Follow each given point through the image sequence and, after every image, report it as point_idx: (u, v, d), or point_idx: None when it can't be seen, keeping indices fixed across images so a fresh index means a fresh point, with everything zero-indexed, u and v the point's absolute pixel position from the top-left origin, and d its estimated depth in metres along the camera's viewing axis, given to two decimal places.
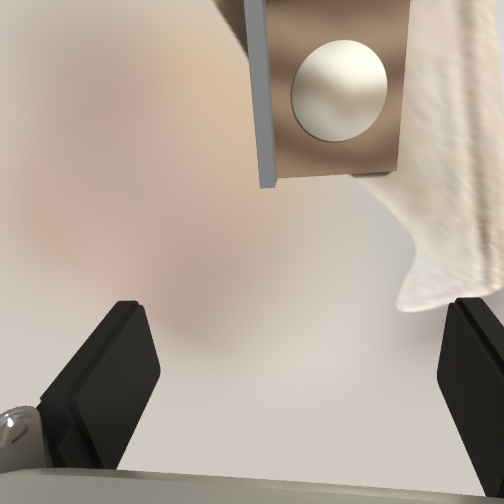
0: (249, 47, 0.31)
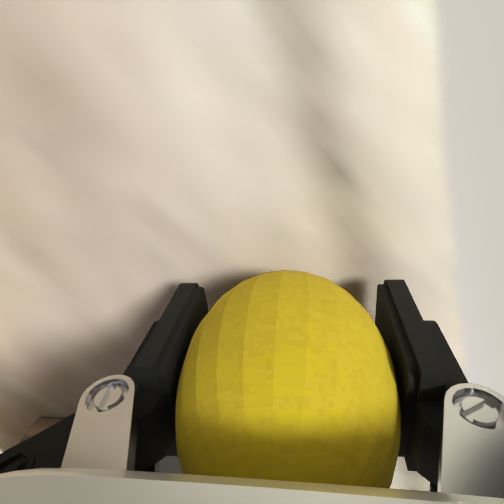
0: None
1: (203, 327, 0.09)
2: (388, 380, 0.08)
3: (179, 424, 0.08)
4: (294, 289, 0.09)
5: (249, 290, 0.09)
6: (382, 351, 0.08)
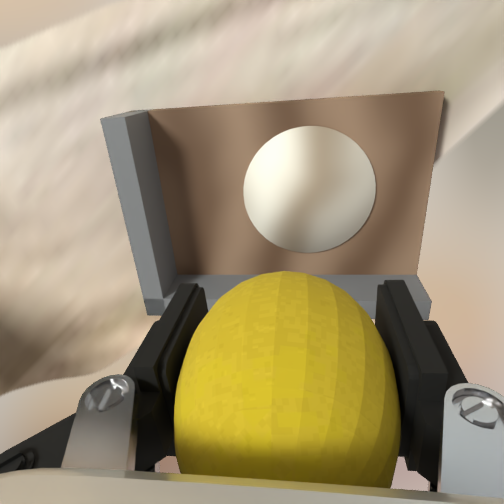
0: None
1: (202, 328, 0.09)
2: (388, 382, 0.08)
3: (178, 426, 0.08)
4: (293, 290, 0.09)
5: (249, 292, 0.09)
6: (382, 352, 0.08)
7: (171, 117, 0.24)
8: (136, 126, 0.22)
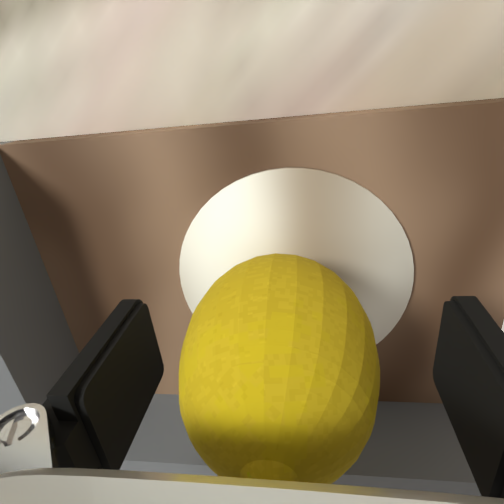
0: None
1: (203, 303, 0.10)
2: (367, 345, 0.09)
3: (182, 385, 0.09)
4: (284, 267, 0.10)
5: (244, 269, 0.10)
6: (363, 321, 0.09)
7: (40, 155, 0.13)
8: None
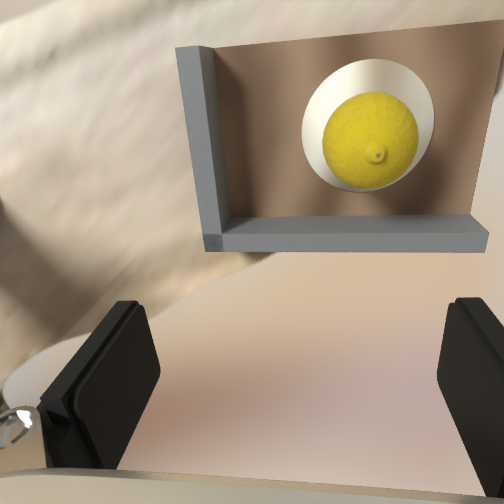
0: (300, 250, 0.27)
1: (337, 109, 0.21)
2: (414, 118, 0.20)
3: (334, 132, 0.20)
4: None
5: (356, 95, 0.22)
6: None
7: (235, 53, 0.25)
8: (206, 59, 0.23)
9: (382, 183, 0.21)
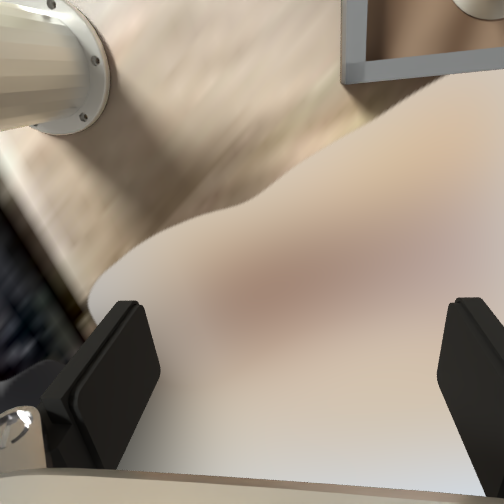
0: (444, 72, 0.28)
1: None
2: None
3: None
4: None
5: None
6: None
7: None
8: None
9: None
